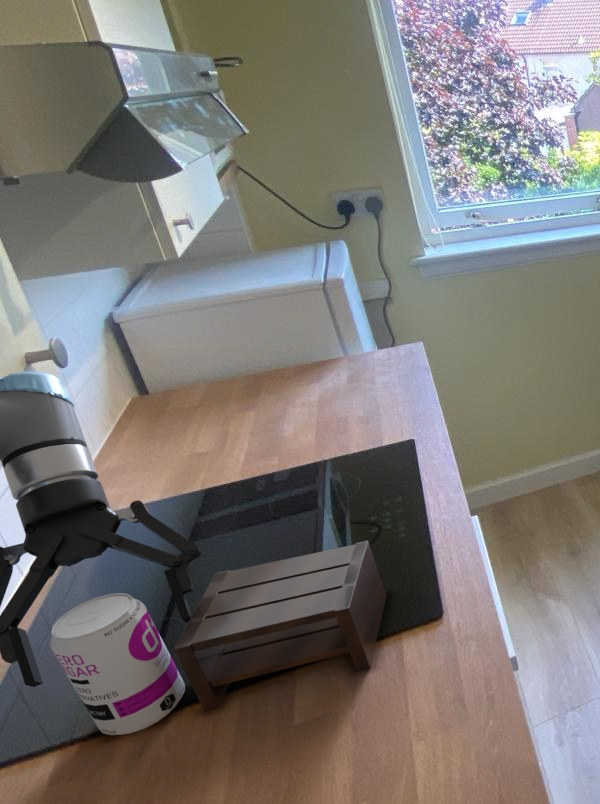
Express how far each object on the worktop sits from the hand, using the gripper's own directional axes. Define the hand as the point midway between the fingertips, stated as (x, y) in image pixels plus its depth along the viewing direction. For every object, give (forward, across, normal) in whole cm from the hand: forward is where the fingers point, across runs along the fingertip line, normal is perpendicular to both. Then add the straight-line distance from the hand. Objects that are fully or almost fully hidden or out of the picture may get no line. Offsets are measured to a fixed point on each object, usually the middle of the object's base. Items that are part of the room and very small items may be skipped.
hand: (115, 651), depth 85 cm
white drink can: (+7, 0, -7) cm, 9 cm away
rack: (+8, -16, -5) cm, 19 cm away
